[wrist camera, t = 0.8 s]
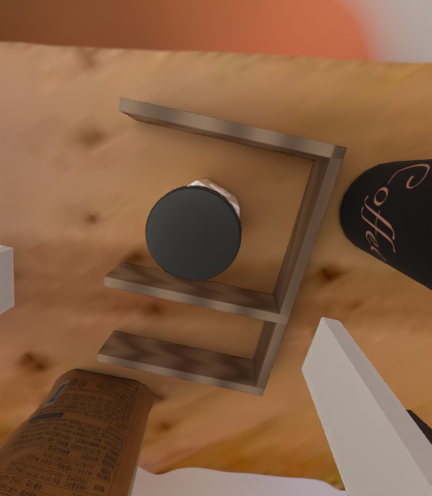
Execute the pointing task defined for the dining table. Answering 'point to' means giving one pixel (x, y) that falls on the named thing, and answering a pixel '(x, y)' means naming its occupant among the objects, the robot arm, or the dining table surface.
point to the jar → (195, 231)
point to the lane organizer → (219, 295)
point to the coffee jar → (393, 216)
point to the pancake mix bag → (79, 439)
